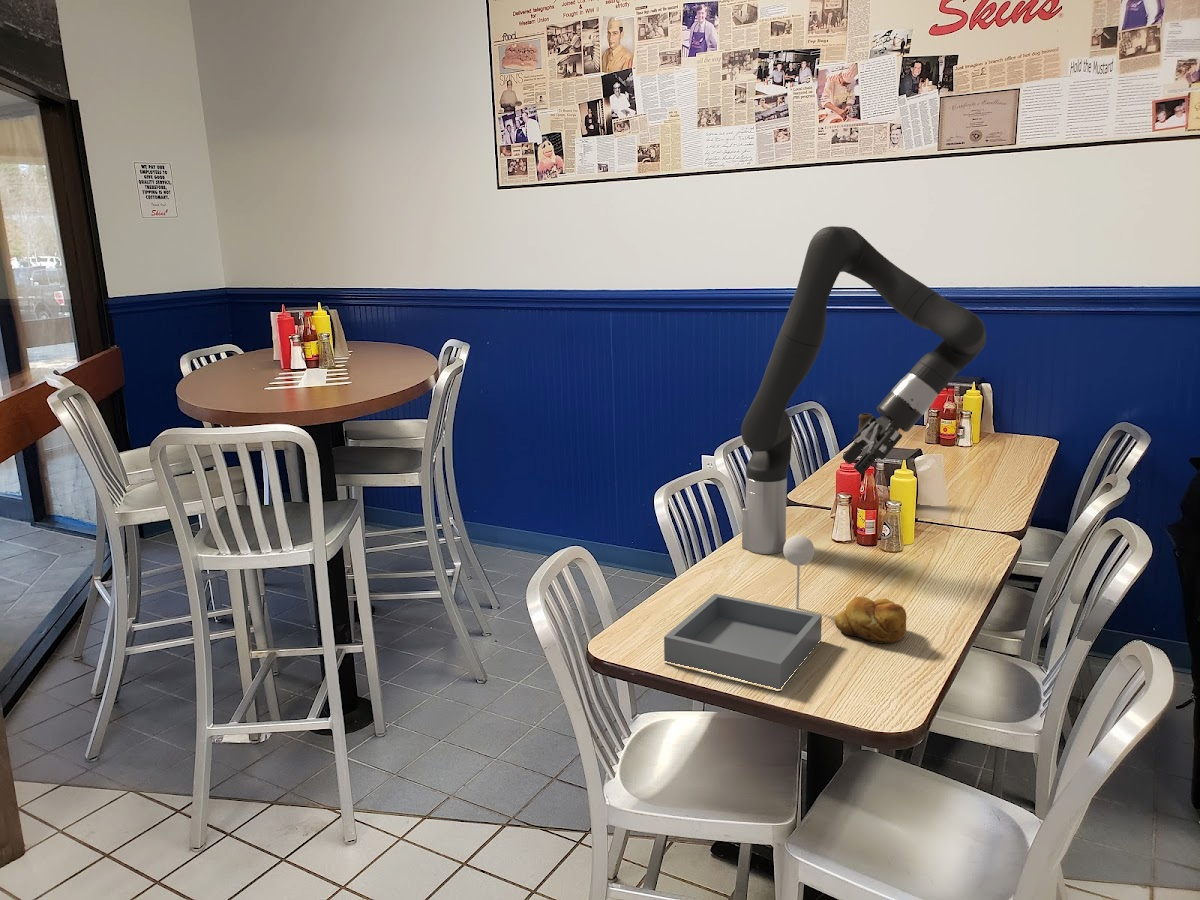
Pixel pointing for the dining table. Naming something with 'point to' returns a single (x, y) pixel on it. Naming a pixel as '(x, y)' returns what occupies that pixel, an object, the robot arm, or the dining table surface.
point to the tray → (744, 640)
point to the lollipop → (798, 555)
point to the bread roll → (873, 620)
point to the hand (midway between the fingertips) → (851, 466)
